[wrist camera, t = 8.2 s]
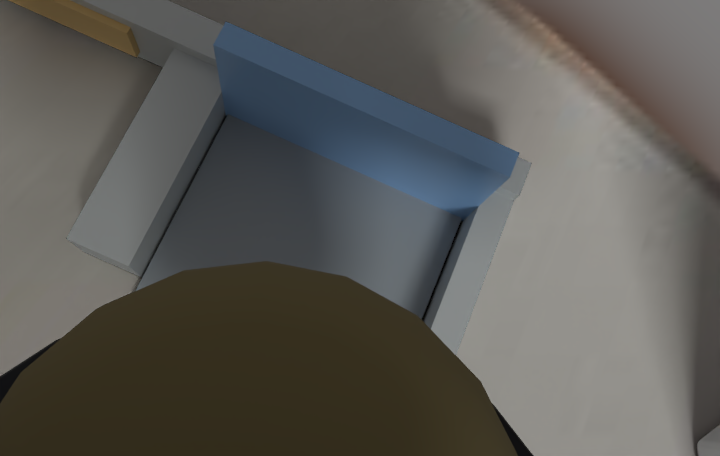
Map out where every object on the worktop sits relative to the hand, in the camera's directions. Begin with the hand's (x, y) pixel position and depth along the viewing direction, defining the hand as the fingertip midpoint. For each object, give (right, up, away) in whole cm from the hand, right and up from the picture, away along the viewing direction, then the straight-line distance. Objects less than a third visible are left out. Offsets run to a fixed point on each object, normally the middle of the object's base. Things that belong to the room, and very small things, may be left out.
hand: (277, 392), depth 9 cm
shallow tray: (-5, +4, +13) cm, 15 cm away
